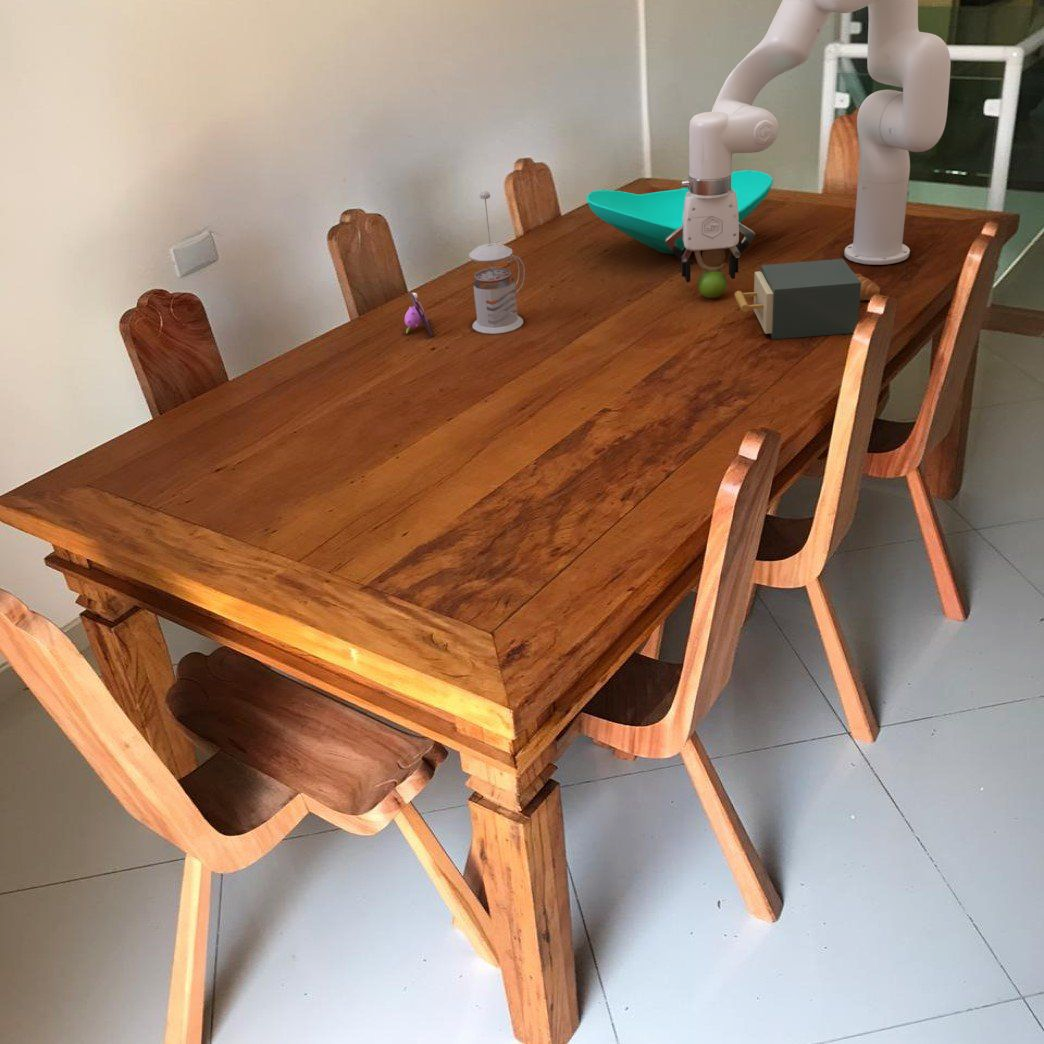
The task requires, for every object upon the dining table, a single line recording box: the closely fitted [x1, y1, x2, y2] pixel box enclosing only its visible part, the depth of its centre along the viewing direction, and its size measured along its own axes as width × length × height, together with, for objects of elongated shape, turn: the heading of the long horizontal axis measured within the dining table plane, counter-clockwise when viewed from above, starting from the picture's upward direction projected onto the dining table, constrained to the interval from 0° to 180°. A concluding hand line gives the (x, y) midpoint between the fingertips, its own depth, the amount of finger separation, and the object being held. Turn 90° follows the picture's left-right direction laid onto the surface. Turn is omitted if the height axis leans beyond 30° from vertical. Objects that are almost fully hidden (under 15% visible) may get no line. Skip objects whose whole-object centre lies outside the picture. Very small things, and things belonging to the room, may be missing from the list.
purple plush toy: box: [404, 290, 434, 338], centre depth 208 cm, size 7×5×9 cm
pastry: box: [853, 272, 881, 302], centre depth 205 cm, size 9×7×4 cm
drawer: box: [734, 270, 774, 335], centre depth 194 cm, size 17×11×7 cm, turn 90°
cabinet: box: [760, 258, 861, 340], centre depth 194 cm, size 15×13×9 cm
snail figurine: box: [693, 248, 728, 299], centre depth 208 cm, size 5×6×12 cm
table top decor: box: [585, 169, 774, 255], centre depth 233 cm, size 40×28×13 cm
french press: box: [468, 190, 526, 335], centre depth 203 cm, size 10×12×25 cm
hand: (709, 277), depth 209 cm, fingers open, 7 cm apart
